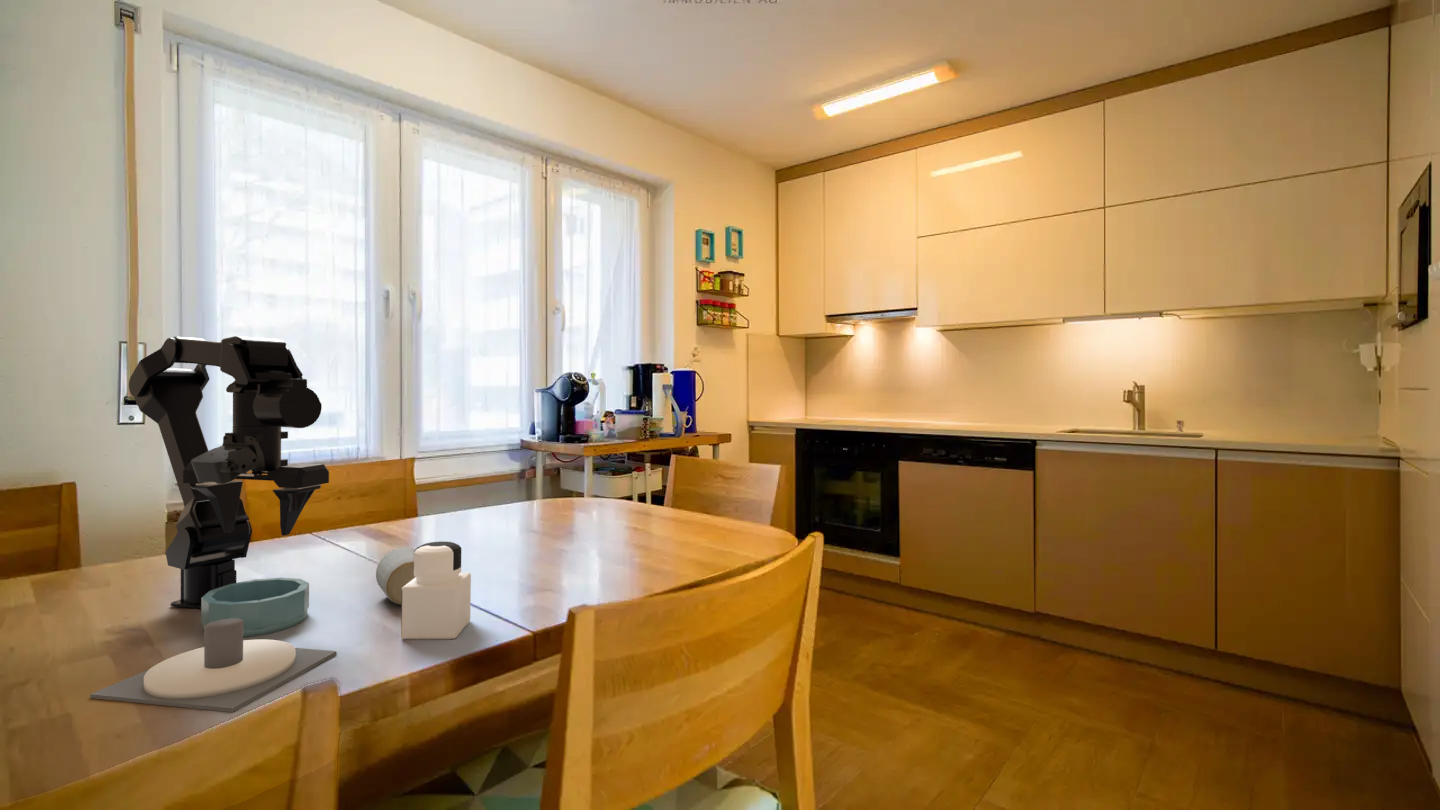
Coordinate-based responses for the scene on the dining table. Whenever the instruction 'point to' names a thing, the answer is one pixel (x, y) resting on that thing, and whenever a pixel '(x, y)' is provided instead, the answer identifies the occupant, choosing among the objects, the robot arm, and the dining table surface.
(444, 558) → the medicine bottle
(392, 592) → the ceramic mug
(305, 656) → the mat
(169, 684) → the lid
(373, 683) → the dining table surface
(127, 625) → the dining table surface
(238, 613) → the bowl
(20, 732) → the dining table surface
